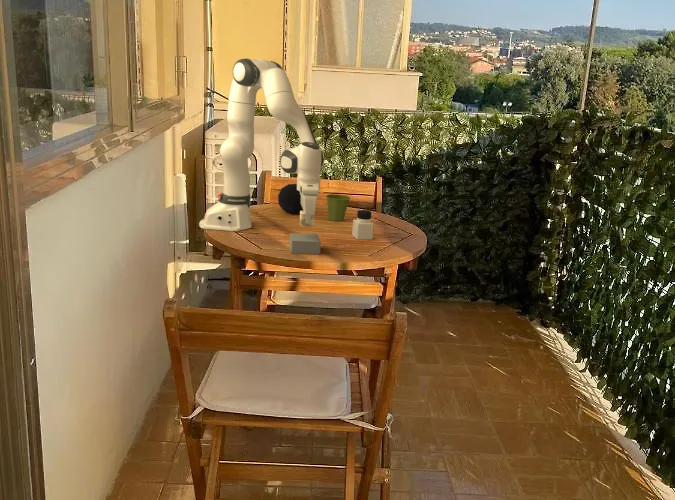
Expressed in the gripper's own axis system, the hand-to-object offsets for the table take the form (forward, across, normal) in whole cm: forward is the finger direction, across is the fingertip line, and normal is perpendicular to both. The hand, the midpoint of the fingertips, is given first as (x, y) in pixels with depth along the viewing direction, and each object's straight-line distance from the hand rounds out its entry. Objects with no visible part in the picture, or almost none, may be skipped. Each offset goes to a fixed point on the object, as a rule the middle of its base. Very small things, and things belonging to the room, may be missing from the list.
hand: (306, 221), depth 246 cm
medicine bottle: (+12, -21, +27) cm, 36 cm away
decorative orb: (+12, -62, 0) cm, 63 cm away
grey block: (+12, 0, 0) cm, 12 cm away
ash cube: (+2, 0, 0) cm, 2 cm away
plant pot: (+12, -51, +20) cm, 56 cm away
